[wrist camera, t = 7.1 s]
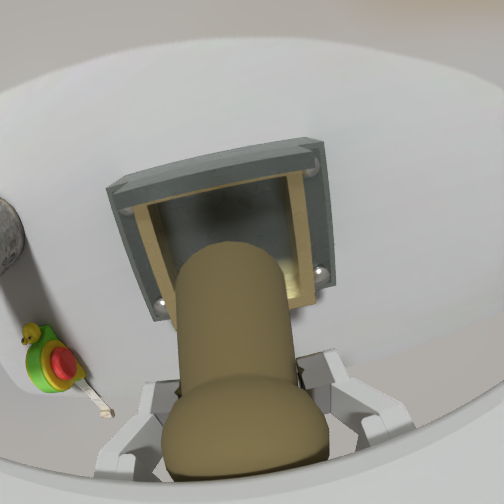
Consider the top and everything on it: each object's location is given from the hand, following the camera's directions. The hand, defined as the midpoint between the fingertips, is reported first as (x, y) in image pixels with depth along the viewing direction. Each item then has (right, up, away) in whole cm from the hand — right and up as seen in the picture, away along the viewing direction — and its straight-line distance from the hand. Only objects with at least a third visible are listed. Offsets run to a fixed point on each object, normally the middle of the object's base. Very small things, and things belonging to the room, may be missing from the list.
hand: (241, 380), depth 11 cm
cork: (-1, +3, +6) cm, 7 cm away
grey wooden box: (-2, +8, +17) cm, 18 cm away
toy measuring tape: (-24, -11, +23) cm, 35 cm away
